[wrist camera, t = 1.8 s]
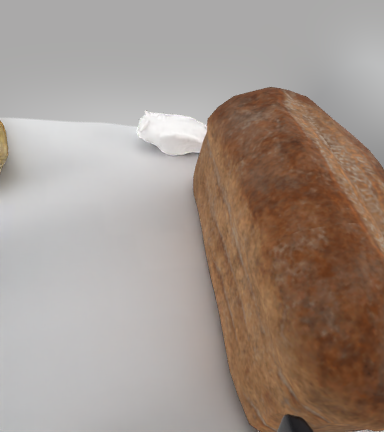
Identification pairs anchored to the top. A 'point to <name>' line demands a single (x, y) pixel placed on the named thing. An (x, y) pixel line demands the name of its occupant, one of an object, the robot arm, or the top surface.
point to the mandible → (3, 146)
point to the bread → (295, 260)
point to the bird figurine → (172, 133)
